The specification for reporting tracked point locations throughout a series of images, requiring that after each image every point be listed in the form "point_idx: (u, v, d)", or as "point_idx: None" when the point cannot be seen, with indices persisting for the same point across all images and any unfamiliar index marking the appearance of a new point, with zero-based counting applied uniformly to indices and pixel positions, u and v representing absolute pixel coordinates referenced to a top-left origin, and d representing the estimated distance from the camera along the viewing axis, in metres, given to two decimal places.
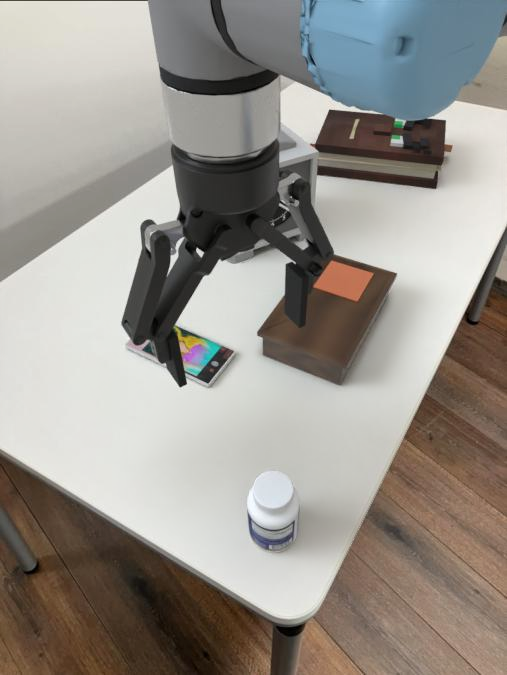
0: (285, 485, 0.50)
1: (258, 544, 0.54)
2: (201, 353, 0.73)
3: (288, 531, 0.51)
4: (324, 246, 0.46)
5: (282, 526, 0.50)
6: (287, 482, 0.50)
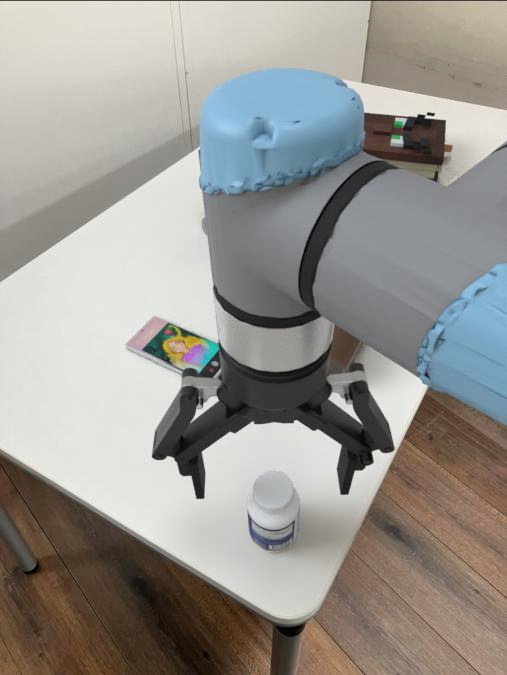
0: (285, 485, 0.50)
1: (258, 544, 0.54)
2: (201, 353, 0.73)
3: (288, 531, 0.51)
4: (382, 441, 0.42)
5: (282, 526, 0.50)
6: (287, 482, 0.50)
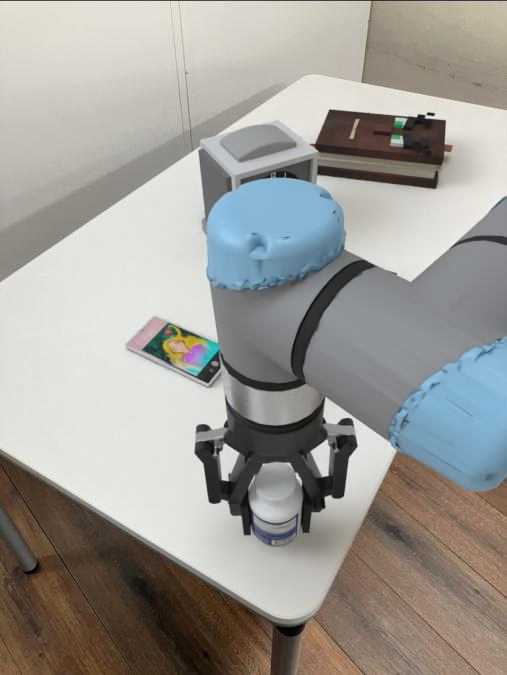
0: (288, 476, 0.48)
1: (260, 539, 0.52)
2: (201, 353, 0.73)
3: (291, 525, 0.49)
4: (338, 488, 0.47)
5: (285, 519, 0.48)
6: (290, 473, 0.48)
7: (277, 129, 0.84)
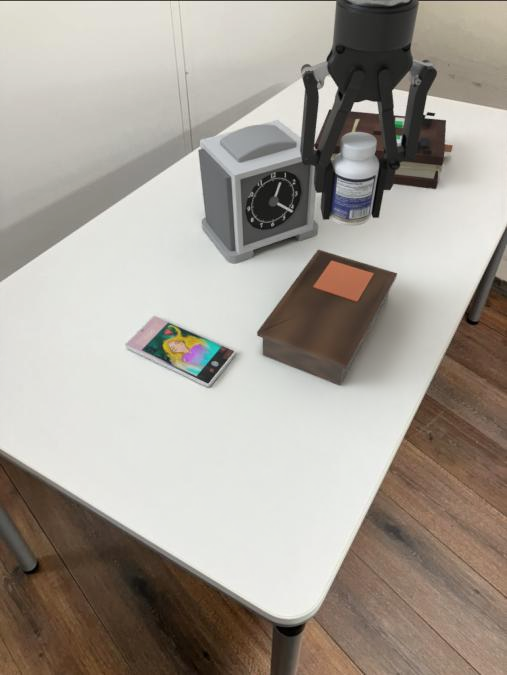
0: (369, 138, 0.57)
1: (339, 216, 0.61)
2: (201, 353, 0.73)
3: (369, 189, 0.59)
4: (412, 144, 0.56)
5: (366, 174, 0.57)
6: (370, 136, 0.57)
7: (277, 129, 0.84)
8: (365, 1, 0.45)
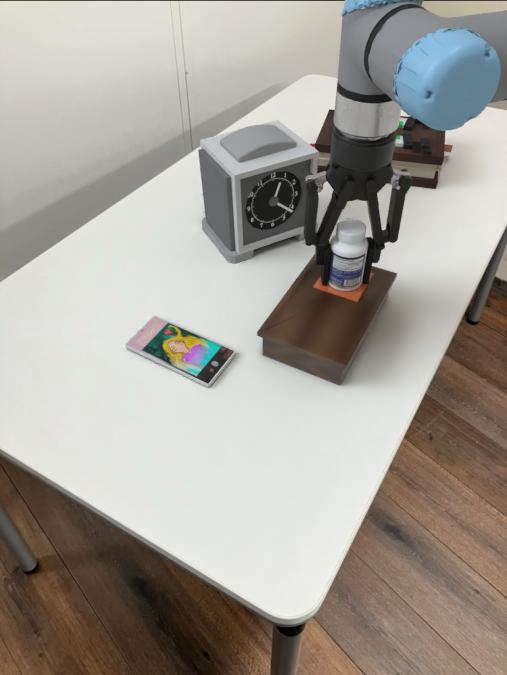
0: (360, 224, 0.70)
1: (335, 284, 0.75)
2: (201, 353, 0.73)
3: (360, 264, 0.72)
4: (394, 230, 0.69)
5: (357, 254, 0.70)
6: (361, 223, 0.70)
7: (277, 129, 0.84)
8: (354, 137, 0.58)
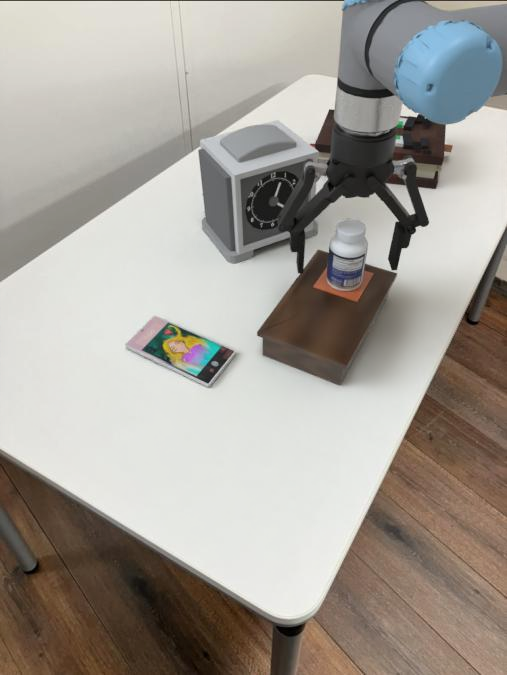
0: (359, 224, 0.70)
1: (335, 284, 0.75)
2: (201, 353, 0.73)
3: (360, 264, 0.72)
4: (421, 215, 0.67)
5: (357, 254, 0.70)
6: (360, 223, 0.70)
7: (277, 129, 0.84)
8: (355, 132, 0.57)
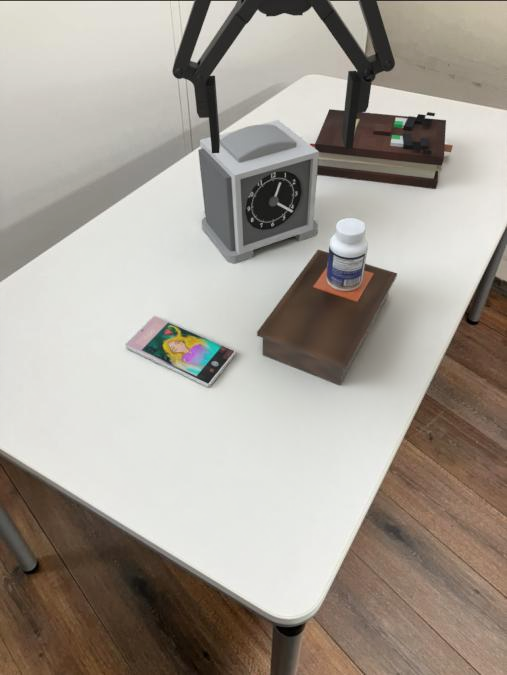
0: (359, 224, 0.70)
1: (335, 284, 0.75)
2: (201, 353, 0.73)
3: (359, 264, 0.72)
4: (383, 49, 0.45)
5: (357, 254, 0.70)
6: (360, 223, 0.70)
7: (277, 129, 0.84)
8: None
